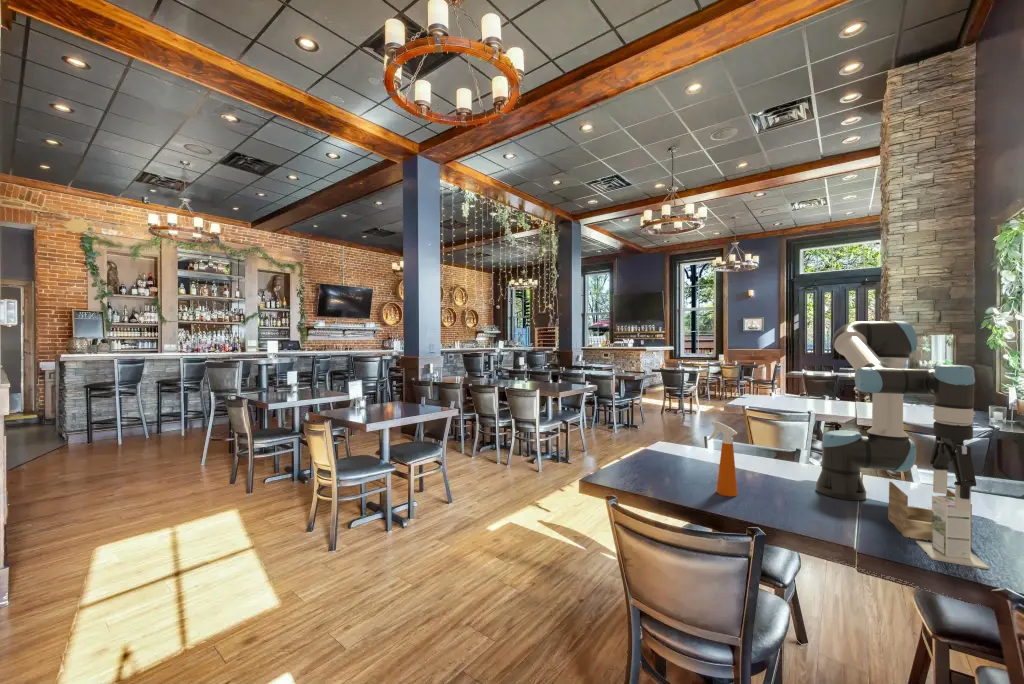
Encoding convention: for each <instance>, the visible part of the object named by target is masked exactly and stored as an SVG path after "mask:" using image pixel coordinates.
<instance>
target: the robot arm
mask: <svg viewBox="0 0 1024 684" xmlns="http://www.w3.org/2000/svg"><path fill="white" fill-rule="evenodd" d="M831 342H832V346H833V348H834V349H835V351H836V352H837V353H839V355H841V356H844V358H845V359H846V360H847V362H848V363H849V364H850V366H851V367H852V368H853V370H855V373H854V384H855V388H856V390H858V391H859V392H862V393H870V394H871V395H872V396H871V397H872V398H871V401H872V405H871V406H872V409H871V410H872V411H871V414H872V417H871V418H872V419H871V427H870V428H869V429H867V430H866V435H865V436H864V435H862V433H861V432H859V431H857V430H856V431H855V430H845V429H842V430H838V429H837V430H830V431H827V432H824V433H823V435H822V440H821V442H822V443H821V471H820V473H819V476H818V478H817V481H816V483H815V490H816V491H817V492H818V493H820V494H822V495H825V496H827V497H831V498H836V499H839V500H845V501H846V500H847V501H864V500H866V499H867V490H866V488H865V485H864V482H863V480H862V476H861V469H869V470H880V471H888V472H892V473H893V472H900V473H902V472H903V473H904V472H909V471H910V470H911V469H913V467H914V465H915V463H916V461H917V446H916V444H915V442H914V441H913V440H912V439H910V437H909V436H910V435H909V434H908V433H907V432H906V431H905V430H904V395H914V396H915V395H916V396H933V397H934V398H933V399H934V401H933V415H932V417H933V420H935V421H933V425H932V426H933V432H932V433H933V435H934V436H935V442H934V447H933V450H932V454H931V457H930V461H929V463H930V465H932V468H933V479H932V481H933V483H932V485H933V487H932V492H933V493H935V494H943V495H946V494H947V489H948V471H949V470H950V468H949V467H948V465H949V463H950V462H951V465H952V468H953V473H954V475H955V476H954V477H955V479H956V481H955V482H953V484H954V485H955V486H954V487H955V489H954V491H955V492H954V493H955V509H956V510H960V511H968V512H970V506H971V504H972V503H971V502H972V496H971V495H972V487H977V481H976V476H975V471H974V470H975V469H974V464H973V460H972V447H971V446H970V445H969V446H968V445H965V443H964V441H971V440H973V436H974V426H972V425H971V424H973V422H974V416H975V415H976V412H975V411H974V400H975V383H976V378H975V369H974V368H973V367H972V366H971V365H962V364H937V365H936V366H935V368H923V369H922V368H905V367H904V364H905V363H906V361H908V360H909V359H910V355H912V354H914V353H916V352H917V349H918V336H917V332H916V330H915V328H914V327H913V326H912V324H910V323H909V322H907V321H902V320H901V321H899V320H879V321H877V320H875V321H874V320H873V321H872V320H870V321H869V320H867V321H865V320H864V321H863V320H861V321H860V320H859V321H858V320H857V321H852V322H849V323H846V324H843V325H842V326H841V327H840V328H838V329H836V331H835V332H834V334H833V336H832V341H831Z"/></svg>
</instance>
